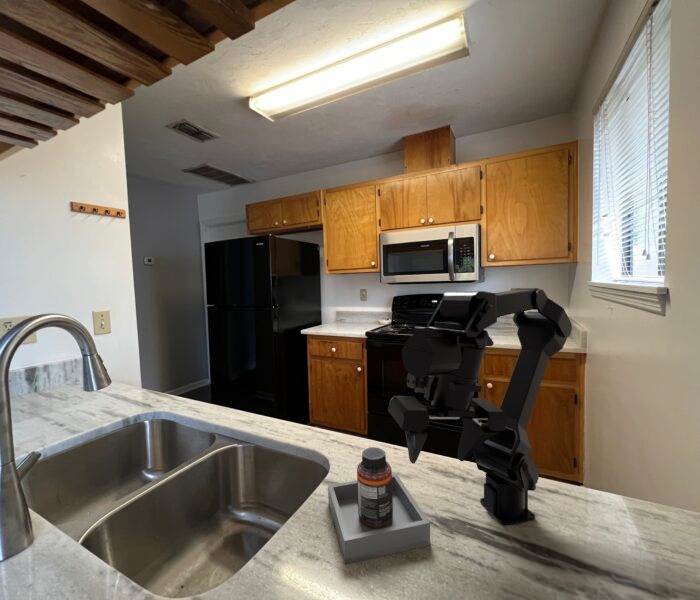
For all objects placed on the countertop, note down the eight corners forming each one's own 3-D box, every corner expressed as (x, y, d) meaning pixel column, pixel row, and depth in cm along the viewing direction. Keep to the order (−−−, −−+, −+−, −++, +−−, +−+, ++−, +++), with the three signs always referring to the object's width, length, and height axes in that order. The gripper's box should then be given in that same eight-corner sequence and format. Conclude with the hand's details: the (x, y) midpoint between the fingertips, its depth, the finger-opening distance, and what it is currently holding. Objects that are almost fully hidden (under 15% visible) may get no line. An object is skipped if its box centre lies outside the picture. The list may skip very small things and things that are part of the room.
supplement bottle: (371, 501, 58) (370, 440, 58) (399, 515, 55) (398, 450, 54) (351, 519, 54) (349, 454, 54) (379, 536, 50) (378, 466, 50)
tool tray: (396, 491, 62) (396, 473, 62) (430, 544, 49) (430, 522, 49) (328, 503, 59) (328, 485, 59) (344, 564, 46) (344, 540, 46)
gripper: (473, 356, 60) (454, 431, 62) (384, 348, 54) (367, 432, 56) (520, 382, 49) (495, 471, 52) (415, 376, 44) (393, 477, 46)
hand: (436, 460), depth 52 cm, fingers open, 9 cm apart
